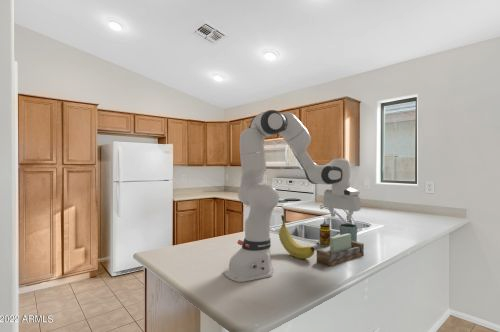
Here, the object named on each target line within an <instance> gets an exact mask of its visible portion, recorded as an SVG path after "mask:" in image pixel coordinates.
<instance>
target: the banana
mask: <svg viewBox="0 0 500 332" xmlns="http://www.w3.org/2000/svg"><path fill="white" fill-rule="evenodd" d="M281 220H282V221H281V222H282V225H281V227H280V228H279V231H278V237H279V242H280V243H281V245H282V246H283V248H284V249H285V250H286V251H287V253H288V254H290V255H291V256H292V257H294V258H297V259H300V260H301V259H302V260H306V259H310V258H311V257H313V255H314V254H315V248H314V246H302V245H300V244H298V243H297V242H296V241H295V240H294V239H293V236H291V233H290V231H289V229H288V227H287V226H286V224H285V223H286V222H285V221H286V218H285V215H283V214H282V215H281Z"/></svg>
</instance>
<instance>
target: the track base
mask: <svg viewBox="0 0 500 332" xmlns="http://www.w3.org/2000/svg"><path fill="white" fill-rule="evenodd" d="M364 249H365V246H364V243H363V242H359V241H357V242H355V241H351V249H347V250H344V251H340V252H337V253H334V254H331V253H330V249H329V250H323V249H321V248H320V249H316V264H317V263H318V264H320V265H323V266H325V267H332V266H335V265H339V264H340V263H341V264H342V263H344V262H347V261H350V260H353V259H356V258H359V257H362V256H364V255H365V254H364Z"/></svg>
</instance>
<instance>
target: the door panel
mask: <svg viewBox="0 0 500 332" xmlns="http://www.w3.org/2000/svg"><path fill="white" fill-rule="evenodd" d="M347 249H351V234H348V233H347V234H343V235H340V234H339V235H335V236H330V246H329V250H330V253H331V254H334V253H337V252H340V251H344V250H347Z"/></svg>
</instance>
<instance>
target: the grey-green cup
mask: <svg viewBox="0 0 500 332" xmlns="http://www.w3.org/2000/svg"><path fill="white" fill-rule="evenodd" d="M338 226H339V227H338V228H339V235H343V234H347V233H348V234H351V241H355V242H358V241H357V239H358V238H357V237H358V224H353V223H340V224H338Z"/></svg>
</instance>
